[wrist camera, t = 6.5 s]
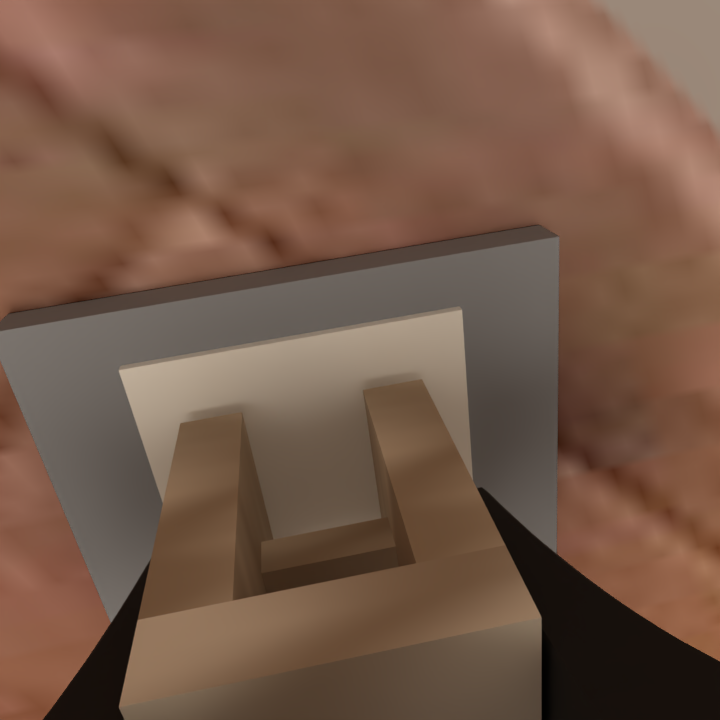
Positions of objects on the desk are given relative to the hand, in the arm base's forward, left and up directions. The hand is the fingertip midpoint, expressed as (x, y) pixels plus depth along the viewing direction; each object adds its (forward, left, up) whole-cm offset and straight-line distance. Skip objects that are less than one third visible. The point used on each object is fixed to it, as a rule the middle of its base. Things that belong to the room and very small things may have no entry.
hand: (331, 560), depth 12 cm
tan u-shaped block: (0, 0, -2) cm, 2 cm away
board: (-3, +4, -4) cm, 7 cm away
